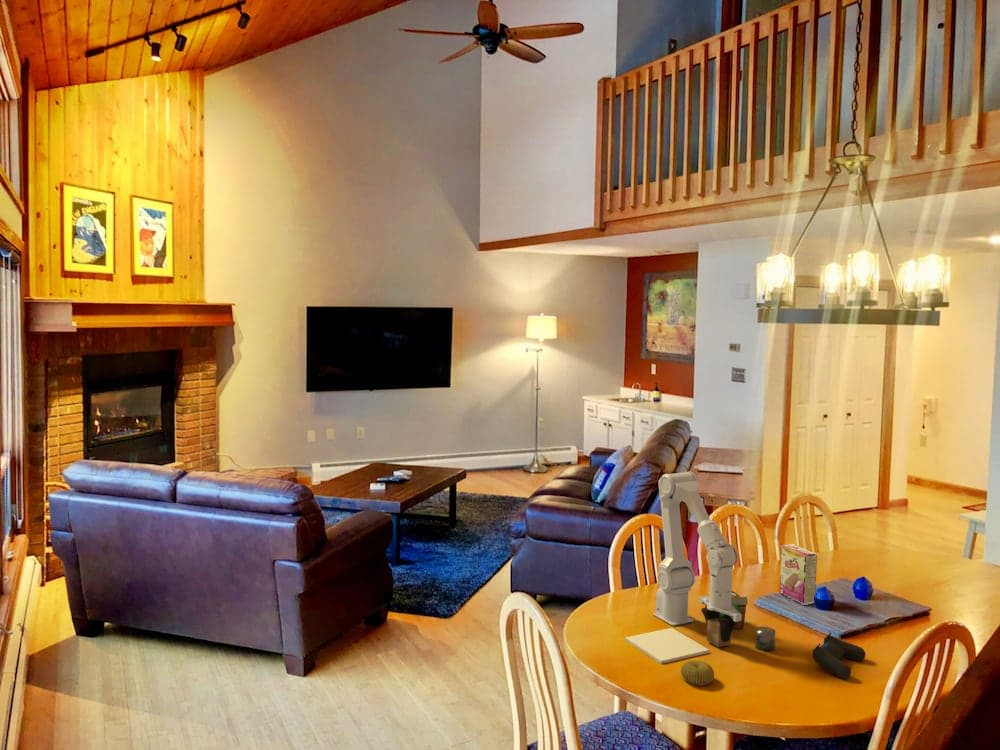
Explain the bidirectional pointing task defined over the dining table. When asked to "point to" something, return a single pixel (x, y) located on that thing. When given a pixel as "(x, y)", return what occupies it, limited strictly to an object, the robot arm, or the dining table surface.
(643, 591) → the dining table surface
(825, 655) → the gaming controller
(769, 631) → the charcoal metal cylinder
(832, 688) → the dining table surface
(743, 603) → the food container
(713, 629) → the walnut block
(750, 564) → the dining table surface
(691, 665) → the olive ribbed round piece
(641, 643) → the cream mat
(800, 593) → the candy bar box
